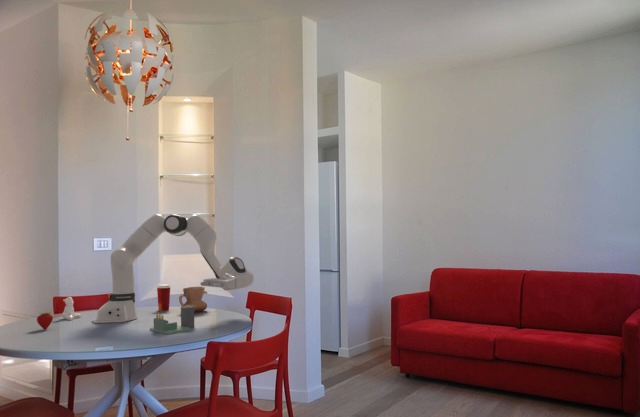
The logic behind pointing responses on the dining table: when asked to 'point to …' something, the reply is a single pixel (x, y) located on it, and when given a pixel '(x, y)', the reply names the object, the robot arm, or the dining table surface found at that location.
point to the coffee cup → (163, 297)
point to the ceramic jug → (194, 298)
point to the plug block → (187, 316)
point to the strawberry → (44, 320)
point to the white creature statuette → (69, 310)
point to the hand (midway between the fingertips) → (206, 284)
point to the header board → (167, 326)
